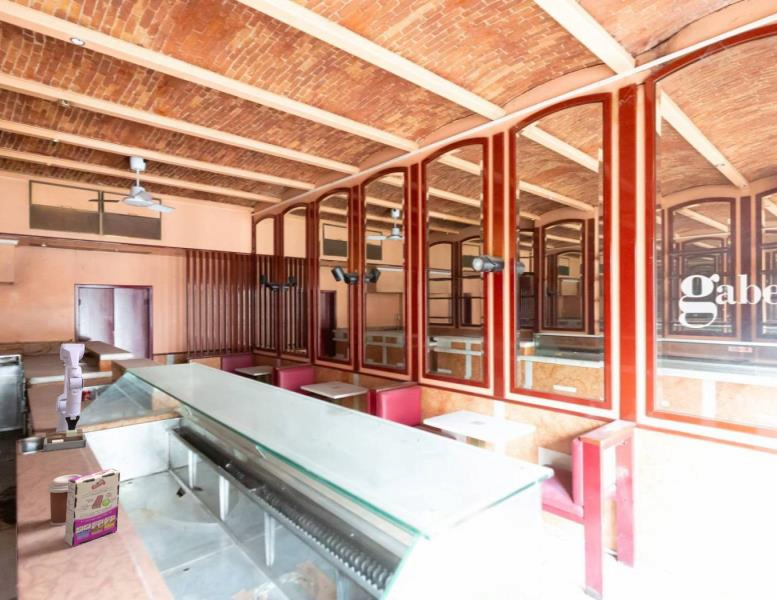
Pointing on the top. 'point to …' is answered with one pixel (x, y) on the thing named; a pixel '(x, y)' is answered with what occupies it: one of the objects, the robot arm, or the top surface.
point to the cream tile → (57, 441)
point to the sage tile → (71, 433)
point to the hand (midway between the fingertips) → (71, 432)
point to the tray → (64, 445)
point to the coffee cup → (59, 499)
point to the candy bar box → (92, 506)
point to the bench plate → (63, 436)
